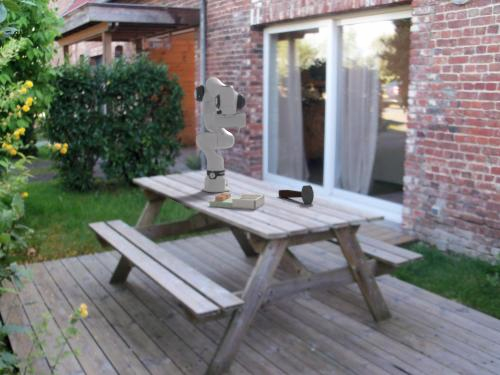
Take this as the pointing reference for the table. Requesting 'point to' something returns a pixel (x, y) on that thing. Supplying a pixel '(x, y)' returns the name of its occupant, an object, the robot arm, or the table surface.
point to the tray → (248, 201)
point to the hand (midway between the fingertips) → (229, 135)
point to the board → (223, 202)
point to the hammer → (299, 194)
